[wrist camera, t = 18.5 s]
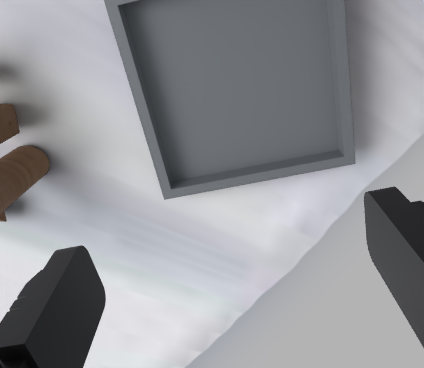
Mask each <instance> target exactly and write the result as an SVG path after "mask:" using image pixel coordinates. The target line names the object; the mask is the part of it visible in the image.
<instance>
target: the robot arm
mask: <svg viewBox="0 0 424 368" xmlns="http://www.w3.org/2000/svg"><path fill="white" fill-rule="evenodd" d="M364 205H365V206H364V207H365V223H366V237H367V245H368V250H369V253H370V256H371V259H372V261H373V263H374V265H375V266H376V268H377V270H378V271H379V273H380V275H381V276H382V278H383V280H384V281H385V283H386V285H387V286H388V288H389V290H390V292H391V293H392V295H393V297H394V298H395V300H396V302H397V303H398V305H399V307H400V308H401V310H402V311H403V314H404V315H405V317H406V318H407V320H408V322H409V324H410V325H411V327H412V329H413V330H414V332H415V333H416V335H417V337H418V339H419V340H420V342H421V344H422V346H423V347H424V202H422V201H416V202H410V201H409V200H408V199H407V198H406V197H405V196H404V195H403V194H402V193H401V192H400V191H399V190H398V189H397V188H396V187H390V188H385V189H380V190H374V191H369V192H366V193H365V196H364ZM17 298H18V299H17V300H15V301H14V303H13V304H12V306H11V307H10V312H7V314H6V315H5V317H4V318H3V320H2V321H1V323H0V368H83V366H84V363H85V360H86V358H87V355H88V352H89V349H90V347H91V344H92V341H93V338H94V335H95V333H96V330H97V327H98V324H99V322H100V319H101V316H102V313H103V310H104V307H105V300H106V298H105V290H104V286H103V284H102V282H101V279H100V277H99V275H98V273H97V270H96V268H95V266H94V264H93V261H92V259H91V257H90V255H89V252H88V250H87V249H86V248H85V247H84V246H76V247H71V248H66V249H60V250H56V251H55V252H54V253H53V255H52V256H51V258H50V260H49V261H48V263H47V264H46V266H45V267H44V269H43V270H41V271H40V272H39V273H37V274H36V275H35V276H34V277H33V278H32V279H31V280H30V281H29V282H27V283H26V285H25V286H24V288H23V289H22V291H21V292H20V294H19V295H18V297H17Z"/></svg>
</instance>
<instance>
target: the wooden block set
mask: <svg viewBox="0 0 424 368" xmlns="http://www.w3.org/2000/svg"><path fill="white" fill-rule="evenodd" d="M18 133H19V127H18V122H17V117H16V113H15V108H14V106H13V105H11V104H0V144H1V143H3V142H4V141H6V140H8V139H9V138H11V137H13V136H15V135H16V134H18ZM48 170H49V160H48V157H47V156H46V155H45V154H44V153H43V152H42V151H41V150H40V149H38V148H35V147H32V146H20V147H18V148H16V149H14V150H13V151H11V152H10V153H8V154H6V155H5V156H3V157H2V158H0V221H5V222H6V221H7V220H6V216H5V212H4V210H5V209H6V208H7V207H8V206H9V205H11V204H12V203H13V202H14V201H15V200H16V199H18V198H19V197H20V196H21V195H22V194H23V193H24V192H26V191H27V190H28V189H29V188H30V187H31V186H33V185H34V184H35V183H36V182H37V181H38V180H40V179H41V178H42V177H43V176H44V175H45V174H46V173H47V172H48Z"/></svg>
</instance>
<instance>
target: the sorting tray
mask: <svg viewBox="0 0 424 368" xmlns="http://www.w3.org/2000/svg"><path fill="white" fill-rule="evenodd" d="M104 2H105V5H106V8H107V12H108V15H109V18H110V22H111V25H112V28H113V32H114V35H115V38H116V41H117V45H118V48H119V51H120V55H121V58H122V61H123V65H124V68H125V71H126V74H127V78H128V81H129V84H130V88H131V91H132V94H133V98H134V101H135V104H136V107H137V111H138V114H139V117H140V121H141V124H142V127H143V131H144V134H145V137H146V141H147V144H148V147H149V150H150V154H151V157H152V160H153V164H154V167H155V170H156V174H157V177H158V180H159V183H160V187H161V190H162V193H163V197H164V200H165V199H170V198H175V197H181V196H186V195H191V194H197V193H202V192H207V191H213V190H218V189H223V188H229V187H234V186H239V185H245V184H250V183H255V182H261V181H266V180H271V179H277V178H282V177H287V176H292V175H298V174H303V173H308V172H314V171H319V170H324V169H330V168H335V167H340V166H346V165H351V164H355V152H354V137H353V122H352V107H351V93H350V78H349V63H348V48H347V33H346V18H345V3H344V0H104Z"/></svg>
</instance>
